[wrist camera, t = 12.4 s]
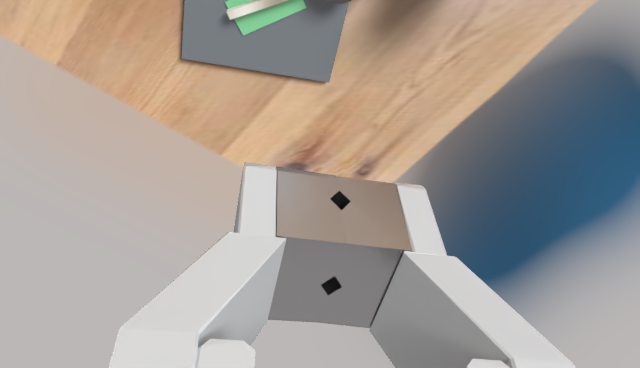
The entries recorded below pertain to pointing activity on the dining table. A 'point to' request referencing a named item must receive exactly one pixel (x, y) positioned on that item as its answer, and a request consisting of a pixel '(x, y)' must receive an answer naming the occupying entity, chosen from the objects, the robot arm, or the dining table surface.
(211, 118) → the dining table surface
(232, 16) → the lever with brown handle
